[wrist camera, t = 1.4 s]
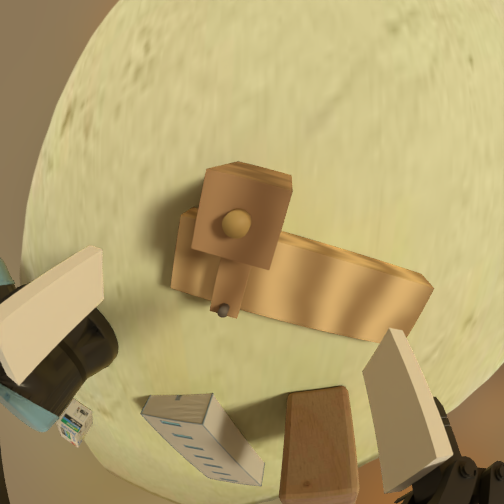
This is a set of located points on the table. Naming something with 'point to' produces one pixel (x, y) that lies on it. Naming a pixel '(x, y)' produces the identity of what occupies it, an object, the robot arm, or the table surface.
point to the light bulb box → (75, 422)
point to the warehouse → (205, 437)
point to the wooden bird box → (240, 226)
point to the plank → (312, 286)
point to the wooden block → (319, 449)
